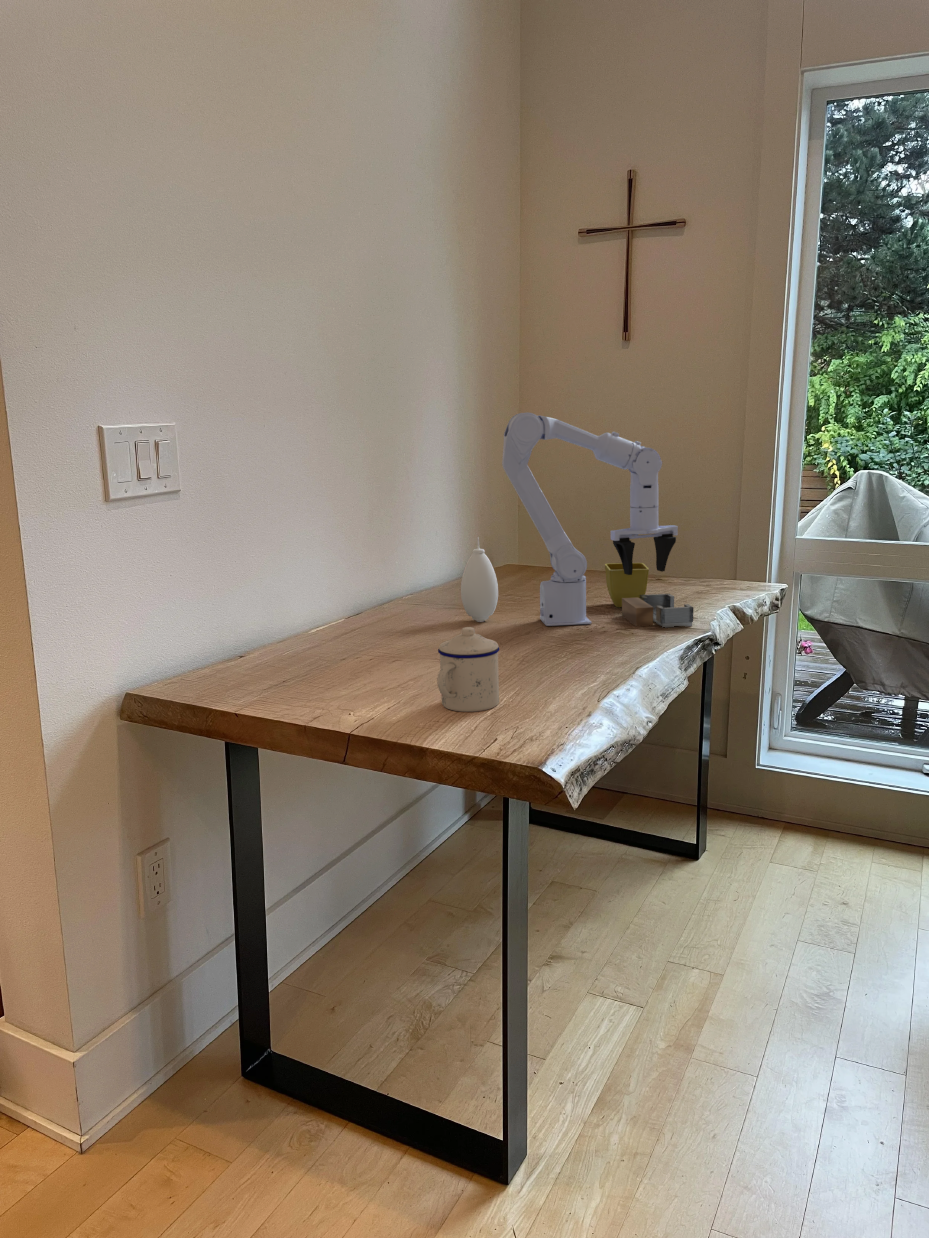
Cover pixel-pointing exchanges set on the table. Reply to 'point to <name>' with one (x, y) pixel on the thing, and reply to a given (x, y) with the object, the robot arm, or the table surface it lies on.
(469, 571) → the white rubber air blower
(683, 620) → the bracket
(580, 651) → the table surface
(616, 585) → the flower pot
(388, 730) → the table surface
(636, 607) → the block
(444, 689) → the teacup with lid
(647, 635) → the table surface
